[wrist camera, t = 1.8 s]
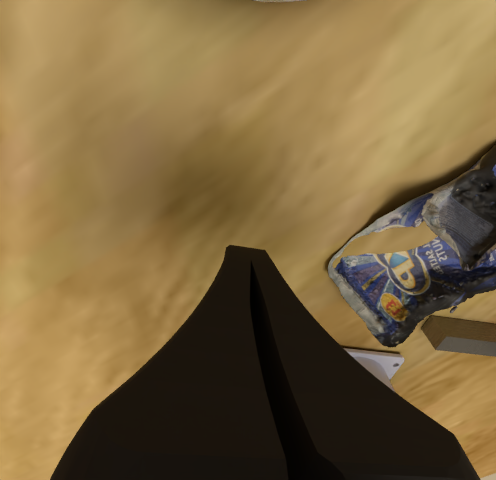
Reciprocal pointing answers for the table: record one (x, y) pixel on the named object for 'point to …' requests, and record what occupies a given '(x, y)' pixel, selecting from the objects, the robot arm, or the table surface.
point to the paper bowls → (278, 0)
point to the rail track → (461, 335)
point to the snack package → (427, 257)
